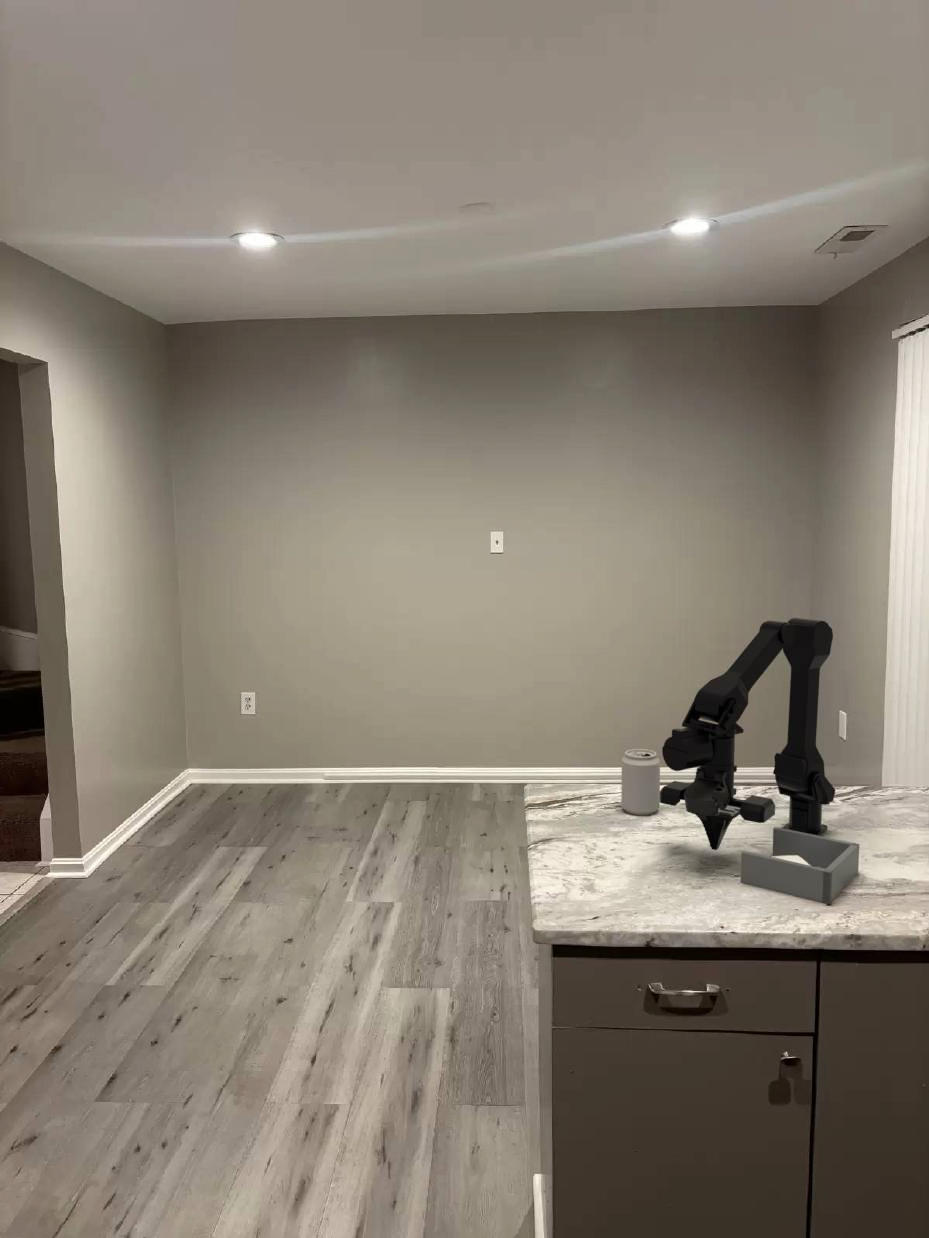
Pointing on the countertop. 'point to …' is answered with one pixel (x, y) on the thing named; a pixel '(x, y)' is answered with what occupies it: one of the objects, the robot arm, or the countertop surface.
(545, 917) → the countertop surface
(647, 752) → the can
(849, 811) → the countertop surface
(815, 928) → the countertop surface
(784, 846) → the box
